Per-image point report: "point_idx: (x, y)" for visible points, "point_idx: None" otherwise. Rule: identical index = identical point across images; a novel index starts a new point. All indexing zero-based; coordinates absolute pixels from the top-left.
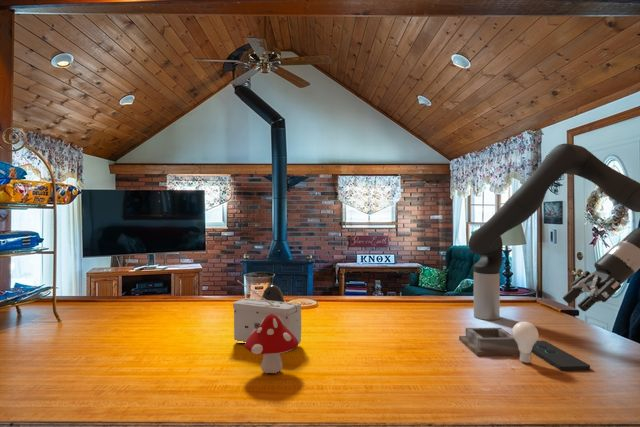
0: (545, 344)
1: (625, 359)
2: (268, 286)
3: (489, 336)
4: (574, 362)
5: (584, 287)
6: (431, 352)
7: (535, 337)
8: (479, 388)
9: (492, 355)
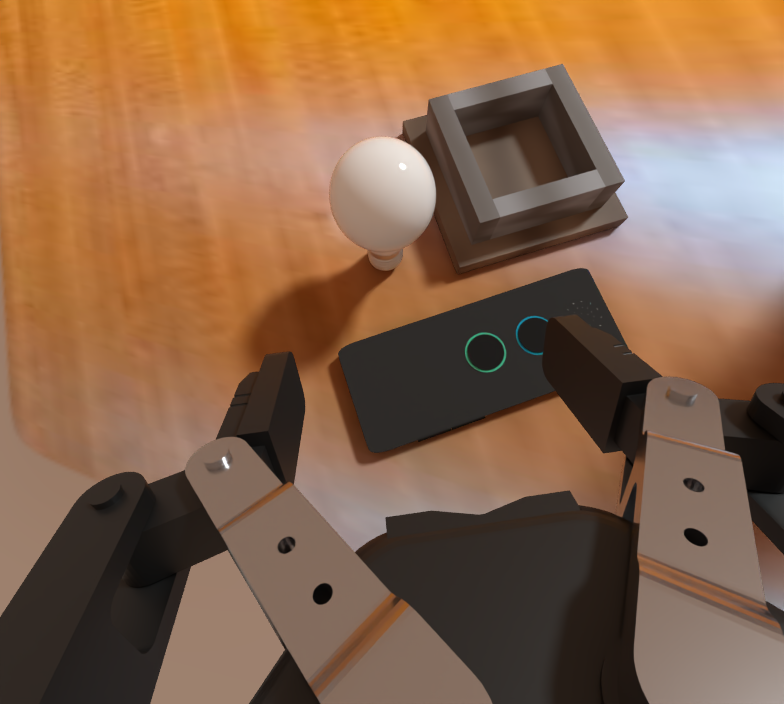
0: None
1: None
2: None
3: (567, 161)
4: (392, 406)
5: (624, 504)
6: (395, 23)
7: (341, 228)
8: (160, 122)
9: None
